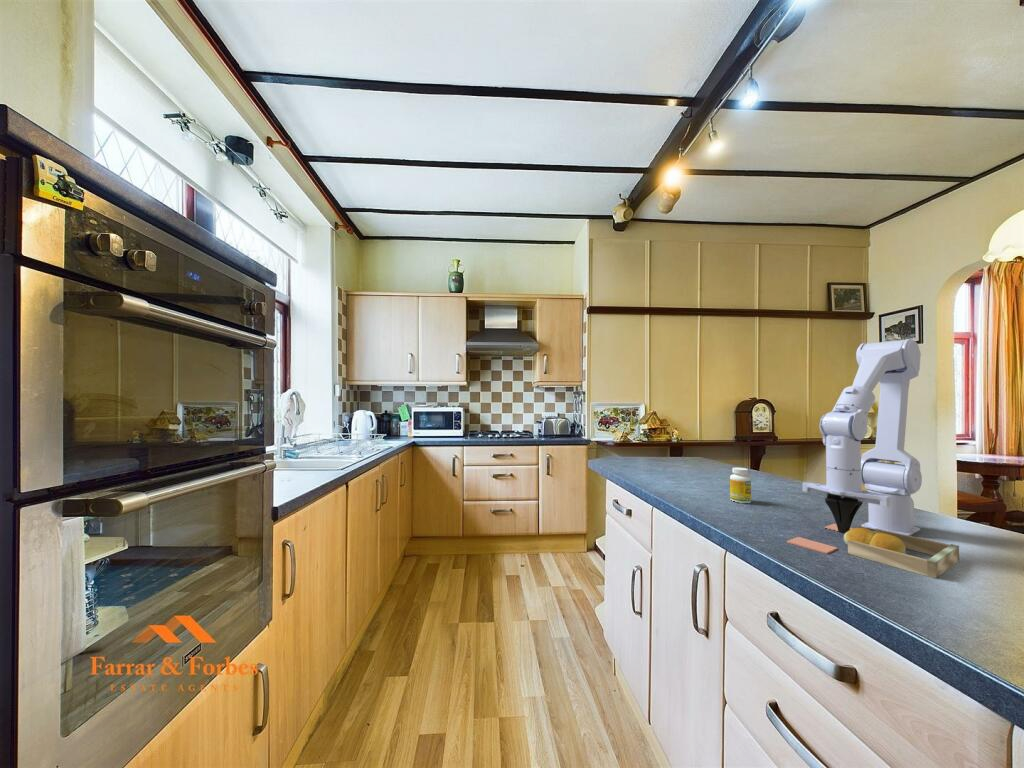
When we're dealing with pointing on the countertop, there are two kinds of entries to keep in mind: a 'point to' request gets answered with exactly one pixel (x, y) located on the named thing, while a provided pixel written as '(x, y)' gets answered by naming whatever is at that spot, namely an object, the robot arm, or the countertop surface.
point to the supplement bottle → (740, 486)
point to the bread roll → (875, 539)
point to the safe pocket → (931, 567)
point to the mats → (815, 545)
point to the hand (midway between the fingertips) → (843, 532)
